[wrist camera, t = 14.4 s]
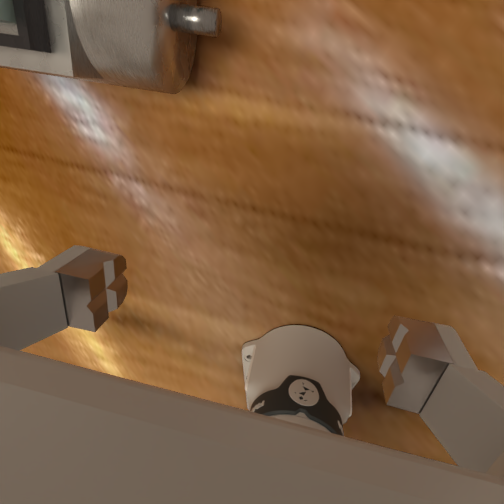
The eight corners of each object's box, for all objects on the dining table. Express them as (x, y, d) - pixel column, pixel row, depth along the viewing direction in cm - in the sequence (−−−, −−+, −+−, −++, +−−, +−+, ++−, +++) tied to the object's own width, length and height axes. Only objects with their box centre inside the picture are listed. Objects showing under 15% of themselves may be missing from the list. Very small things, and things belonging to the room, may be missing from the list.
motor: (231, 99, 36) (177, 102, 23) (26, 67, 39) (-132, 53, 25) (243, -39, 31) (181, -145, 17) (3, -63, 34) (-214, -171, 20)
